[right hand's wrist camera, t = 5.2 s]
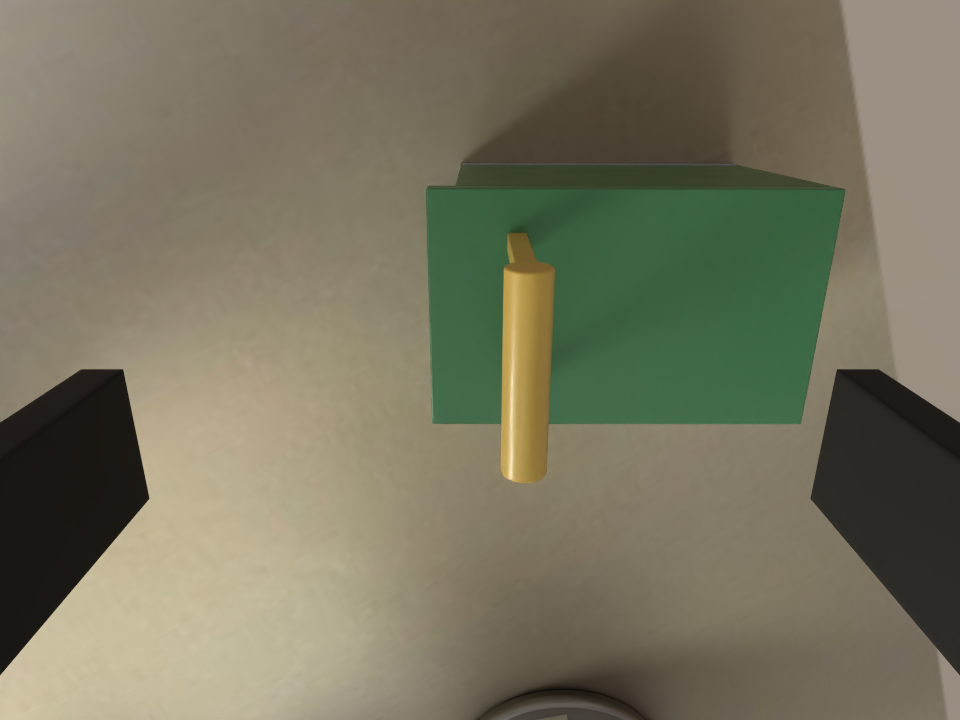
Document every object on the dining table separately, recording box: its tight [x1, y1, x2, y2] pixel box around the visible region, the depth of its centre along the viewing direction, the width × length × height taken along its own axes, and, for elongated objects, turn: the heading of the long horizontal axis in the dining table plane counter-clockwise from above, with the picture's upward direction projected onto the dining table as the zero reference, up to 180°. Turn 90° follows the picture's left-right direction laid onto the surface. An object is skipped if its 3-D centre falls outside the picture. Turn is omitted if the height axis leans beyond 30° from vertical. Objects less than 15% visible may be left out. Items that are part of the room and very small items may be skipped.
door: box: [426, 186, 845, 483], centre depth 22 cm, size 15×9×8 cm, turn 90°
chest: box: [456, 163, 831, 187], centre depth 31 cm, size 14×9×10 cm, turn 90°
